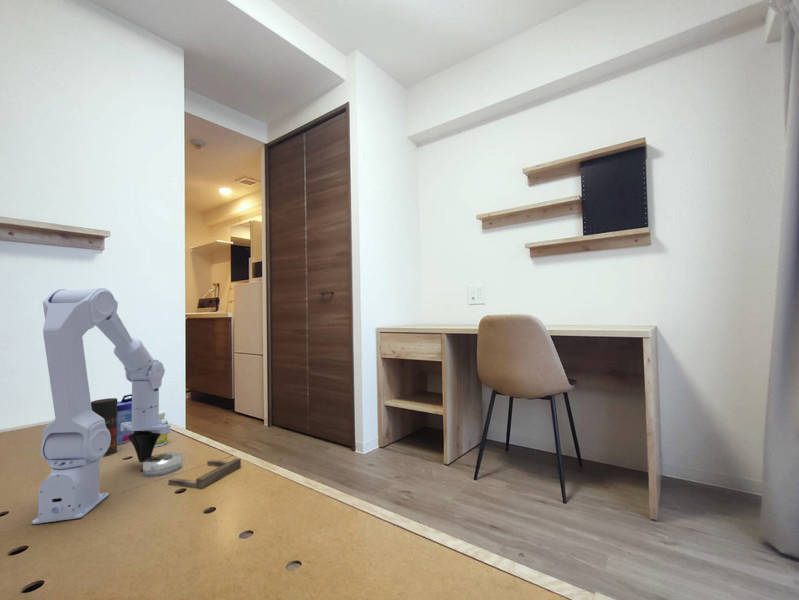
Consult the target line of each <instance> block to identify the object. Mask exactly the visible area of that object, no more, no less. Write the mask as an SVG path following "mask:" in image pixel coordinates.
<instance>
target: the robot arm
mask: <svg viewBox="0 0 799 600" xmlns="http://www.w3.org/2000/svg"><path fill="white" fill-rule="evenodd" d="M118 305H119V303H118V301H117V300H116V299H115V297H114V295H113V293H112V292H111V291H110V290H109V289H107V288H103V287H101V288H100V287H98V288H91V289H90V288H87V289H86V288H84V289H81V288H79V289H65V288H62V289H61V288H60V289H55V290H53V291H52V292H51V293H50V294H49V295H48V296H47V297H46V298H45V299H44V300H43V301H42V306H43V312H44V315H43V316H44V320H45V321H44V325H43V329H42V333H43V334H42V335H43V341H44V349H45V357H46V362H47V369H48V375H49V383H50V389H51V390H50V391H51V396H52V405H53V410H54V417H55V418H54V419H52V421H50V422H49V423H47V425H46V426H44V427H43V429H42V430H41V432H42V441H41V445H40V448H39V451H40V456H41V458H42V459H43V460H45V461H46V462H47V466H48V467H51V471H50V473H49V475H48V476H47V477H46V478H44V480H43V481H42V482H41V483H40V485H39V488H38V499H37V503H38V504H37V505H38V506H37V517H36V518H35V519H33V520H31V524H32V525H37V524H43V523H51V522H58V521H65V520H67V521H68V520H75V519H80V518H83V517H84V516H85V515H87V514H88V513H90V512H91V510H93V509H94V508H95V507H97V505H99V503H101V502H102V501H103V500H104V499H106V498H107V497H108V496H109V492H102V493H100V468H101V467H100V466H101V465H100V463H101V462H100V460H101V459H102V458H104V457H103V455H104V454H105V453H106V451H107V450H108V448H109V446H110V443H111V435H110V432H109V430H108V429H107V428H106V425H105V419H104V418H102V417H101V416H99V415H98V414H96V413H95V412H94V411H92V407H91V402H92V401H91V400H92V399H91V394H90V393H91V392H90V386H89V378H88V371H87V363H86V356H85V355H86V354H85V347H84V340H83V337H84V335H85V334H86V333H87V331H89V330H91V329H93V328H95V327H97V328H98V329H99V331H100V332H101V333H103V335H104V336H105V337H107V339H108V340H109V341H110V342H111V343H112V344H113V345H114V346H115V347H114V350H113V354H114V356H115V357H117V359H118V360H119V361H120V363H121V364H122V365H123V366H124V371H125V377H126V380H127V381H128V382H130V383H131V394H132V396H131V397H132V421H131V422H125V423H121V431H134V433H133V434H132V435H129V436H128V439H129V440H130V441H129V442H130V443H131V445H133V448H134V450H135V452H136V453H135V454H136V456H137V459H138V462H139V463H143V461H144V460H145V459H147V458H149V457H151V456H153V452H154V449H155V447H154V446H155V444H156V441H157V439H158V438H159V436H160V435H164V434H167V435H168V434H170V433H171V424H164V423H162V420H159V411H160V388H161V387H162V380H163V377H164V375H165V372H166V371H165V370H166V369H165V367H164V364H163V363H162V362H161V361H160V360H158V359H154V358H153V356H152V355H151V354H150V352H149V351H148V349H147V348H146V347H145V346H144V344H143V342H142V341H141V339H138V338H135V337H132V336H131V335H130V333H129V332H128V330H127V328H126V327H125V324H124V323H123V321H122V320H121V318H120V315H119V314H118V312H117V311H118Z"/></svg>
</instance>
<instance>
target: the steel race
mask: <svg viewBox="0 0 799 600" xmlns="http://www.w3.org/2000/svg"><path fill="white" fill-rule="evenodd" d="M180 467H181V468H182V454H181V453H180V452H176V451H175V452H172V451H171V452H163V453H157V454H154V455H152V456H151V457H149V458H147V459H145V460H144V461H143V462H142V476H143V477H145V476H146V477H147V478H155V477H156V476H157V477H162V476H167V475H169V473H170V474H172V473H175V472H177V471H179V470H180V469H181V468H180ZM176 470H177V471H176Z"/></svg>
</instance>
